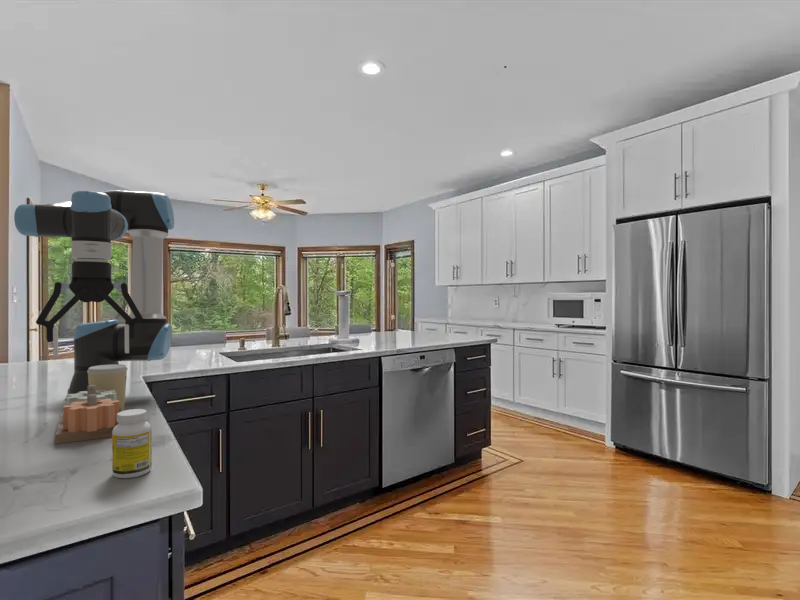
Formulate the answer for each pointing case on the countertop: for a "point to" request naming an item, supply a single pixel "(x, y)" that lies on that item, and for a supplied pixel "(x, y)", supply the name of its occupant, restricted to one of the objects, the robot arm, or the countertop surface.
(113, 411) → the rust gear
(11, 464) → the countertop surface
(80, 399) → the gear
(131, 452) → the pill bottle
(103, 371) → the coffee cup
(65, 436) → the gear board
